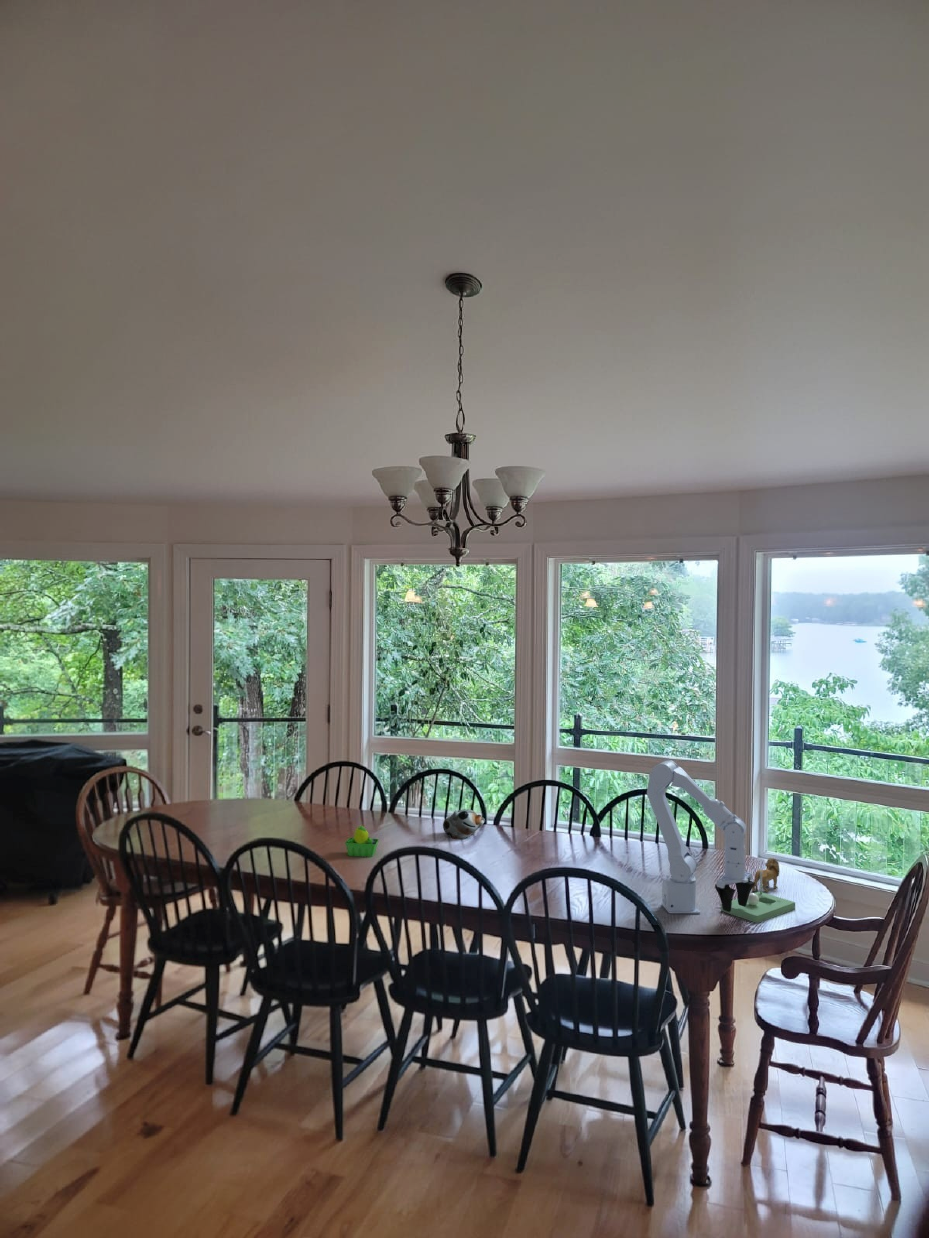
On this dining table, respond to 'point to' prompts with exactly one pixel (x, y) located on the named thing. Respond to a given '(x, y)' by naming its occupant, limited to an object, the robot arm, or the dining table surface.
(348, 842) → the fruit basket
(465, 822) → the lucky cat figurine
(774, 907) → the putting mat
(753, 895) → the golf ball
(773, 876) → the lion figurine
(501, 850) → the dining table surface
